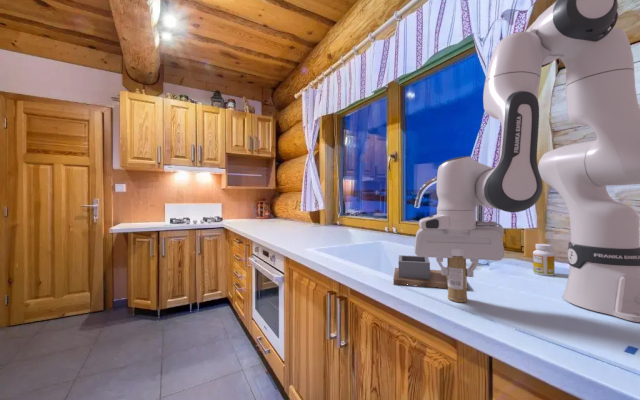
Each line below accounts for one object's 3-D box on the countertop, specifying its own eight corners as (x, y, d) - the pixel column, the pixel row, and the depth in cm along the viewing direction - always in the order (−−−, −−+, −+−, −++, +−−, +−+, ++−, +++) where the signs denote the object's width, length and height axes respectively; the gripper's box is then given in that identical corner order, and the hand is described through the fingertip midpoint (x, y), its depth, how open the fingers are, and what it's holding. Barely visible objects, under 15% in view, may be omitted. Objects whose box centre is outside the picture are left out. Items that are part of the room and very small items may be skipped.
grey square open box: (427, 271, 88) (427, 256, 88) (430, 279, 80) (429, 263, 80) (399, 269, 91) (399, 255, 91) (398, 277, 82) (398, 261, 82)
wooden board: (458, 275, 88) (458, 270, 88) (467, 290, 74) (467, 283, 74) (395, 271, 94) (395, 266, 94) (393, 284, 80) (393, 278, 80)
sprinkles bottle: (471, 300, 67) (470, 247, 67) (461, 304, 65) (460, 249, 65) (453, 294, 71) (452, 244, 71) (443, 298, 69) (442, 246, 68)
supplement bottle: (552, 273, 89) (552, 243, 89) (556, 277, 84) (555, 246, 84) (532, 270, 92) (531, 242, 92) (534, 274, 87) (534, 245, 87)
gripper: (499, 220, 68) (499, 274, 68) (413, 220, 74) (414, 269, 74) (508, 222, 62) (509, 282, 62) (414, 222, 68) (415, 276, 68)
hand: (456, 275), depth 68 cm, fingers closed on sprinkles bottle, 4 cm apart
